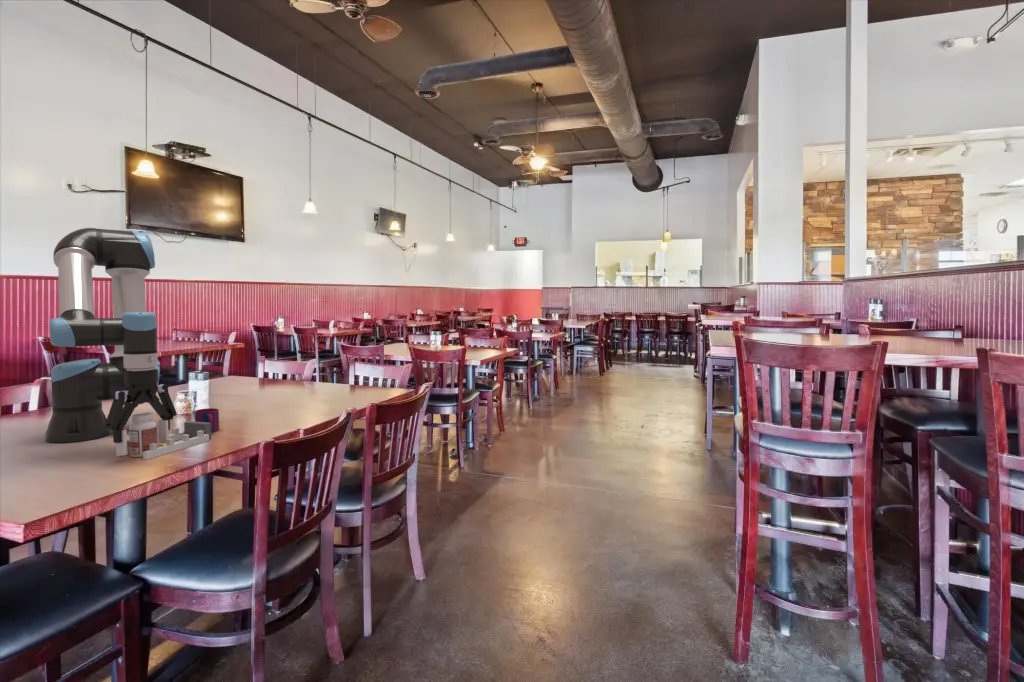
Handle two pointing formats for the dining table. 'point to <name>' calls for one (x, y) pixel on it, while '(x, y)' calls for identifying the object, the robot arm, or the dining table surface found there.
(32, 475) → the dining table surface
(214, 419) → the mug
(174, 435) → the comb channel
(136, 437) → the pill bottle
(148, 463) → the dining table surface
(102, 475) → the dining table surface
